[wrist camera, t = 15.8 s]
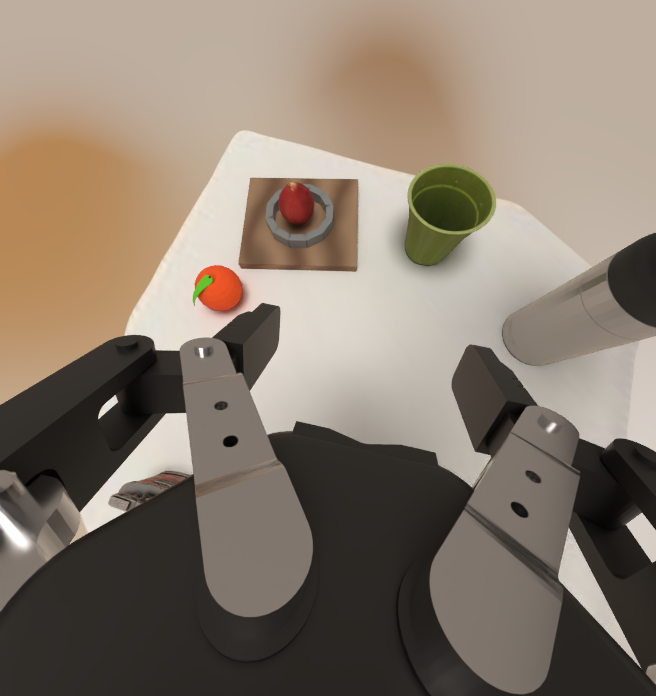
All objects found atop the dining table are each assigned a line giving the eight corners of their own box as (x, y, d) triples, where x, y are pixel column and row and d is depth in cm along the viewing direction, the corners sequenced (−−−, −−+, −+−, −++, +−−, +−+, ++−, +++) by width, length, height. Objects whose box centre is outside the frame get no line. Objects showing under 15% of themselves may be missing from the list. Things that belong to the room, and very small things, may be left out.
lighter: (214, 483, 39) (175, 504, 29) (205, 508, 38) (161, 539, 28) (163, 466, 39) (108, 481, 30) (153, 490, 39) (93, 514, 29)
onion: (291, 202, 49) (284, 161, 41) (320, 212, 48) (318, 173, 41) (277, 227, 48) (266, 190, 40) (307, 238, 47) (302, 203, 39)
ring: (334, 193, 49) (334, 184, 47) (331, 248, 46) (331, 241, 44) (271, 192, 50) (269, 183, 48) (265, 247, 47) (262, 239, 45)
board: (357, 186, 51) (358, 179, 50) (356, 271, 47) (356, 266, 45) (252, 184, 52) (250, 177, 51) (241, 268, 47) (238, 263, 46)
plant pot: (470, 239, 48) (511, 186, 37) (438, 290, 46) (471, 249, 35) (412, 208, 50) (434, 149, 39) (378, 256, 48) (391, 207, 37)
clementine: (221, 329, 45) (201, 313, 38) (194, 304, 46) (169, 283, 39) (256, 296, 46) (242, 274, 39) (228, 272, 47) (210, 246, 40)
